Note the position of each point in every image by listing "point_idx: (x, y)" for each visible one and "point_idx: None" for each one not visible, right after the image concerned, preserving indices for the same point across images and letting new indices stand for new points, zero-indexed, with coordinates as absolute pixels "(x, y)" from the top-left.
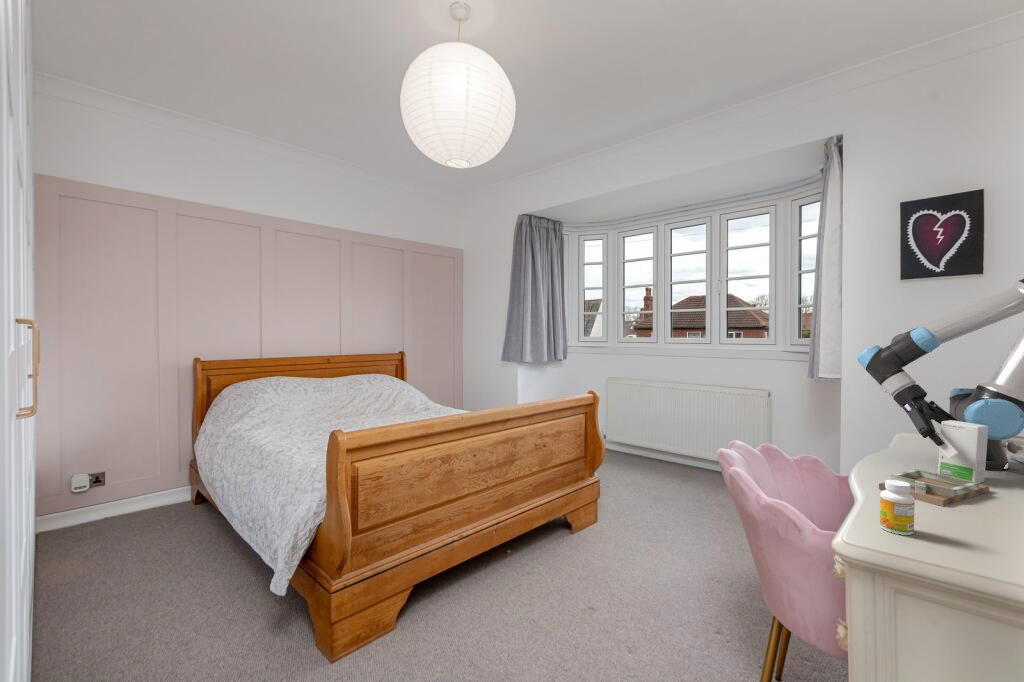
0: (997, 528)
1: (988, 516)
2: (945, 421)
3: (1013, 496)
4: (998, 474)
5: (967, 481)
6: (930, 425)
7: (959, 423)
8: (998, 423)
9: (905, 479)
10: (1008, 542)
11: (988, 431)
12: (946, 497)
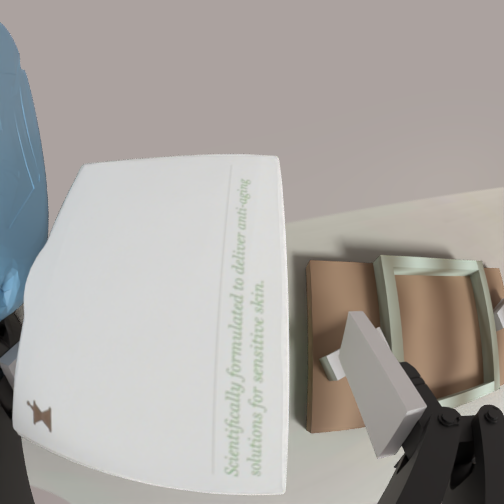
0: (486, 204)
1: (466, 220)
2: (221, 471)
3: (292, 225)
4: None
5: (394, 278)
6: (452, 459)
7: (222, 311)
8: (17, 150)
9: (496, 356)
10: (500, 192)
11: (35, 222)
12: (487, 271)
